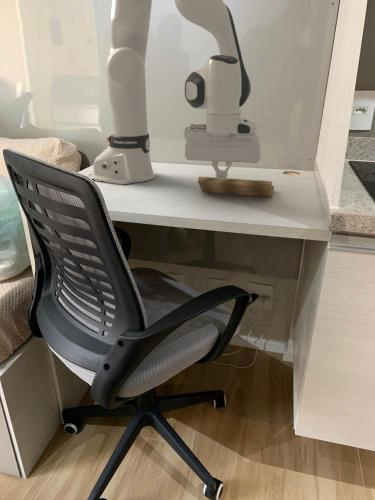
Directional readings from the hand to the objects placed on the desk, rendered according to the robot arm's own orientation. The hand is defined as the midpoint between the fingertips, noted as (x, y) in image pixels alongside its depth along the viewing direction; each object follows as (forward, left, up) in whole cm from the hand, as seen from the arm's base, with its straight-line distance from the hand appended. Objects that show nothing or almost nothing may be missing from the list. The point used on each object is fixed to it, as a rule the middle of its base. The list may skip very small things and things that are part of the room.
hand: (221, 177), depth 108 cm
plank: (+4, +1, -3) cm, 5 cm away
